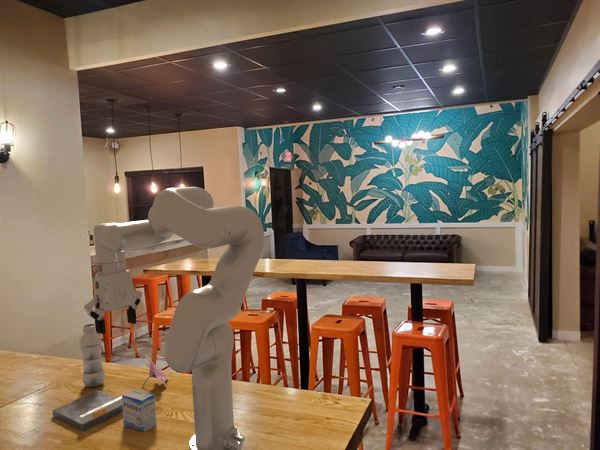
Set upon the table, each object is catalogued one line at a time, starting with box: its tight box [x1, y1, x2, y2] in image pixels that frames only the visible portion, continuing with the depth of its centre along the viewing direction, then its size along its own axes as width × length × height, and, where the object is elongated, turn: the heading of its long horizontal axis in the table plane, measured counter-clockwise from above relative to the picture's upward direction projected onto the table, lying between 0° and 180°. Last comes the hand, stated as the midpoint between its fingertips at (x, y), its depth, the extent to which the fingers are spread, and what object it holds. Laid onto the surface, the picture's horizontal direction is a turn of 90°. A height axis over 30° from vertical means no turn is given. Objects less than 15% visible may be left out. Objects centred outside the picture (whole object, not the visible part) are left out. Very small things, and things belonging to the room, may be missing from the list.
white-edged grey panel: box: [51, 390, 123, 432], centre depth 132 cm, size 15×14×4 cm
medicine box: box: [121, 389, 157, 433], centre depth 125 cm, size 8×4×9 cm, turn 62°
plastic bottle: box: [79, 323, 106, 388], centre depth 150 cm, size 6×7×20 cm
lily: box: [141, 353, 169, 389], centre depth 148 cm, size 12×12×10 cm
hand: (117, 328), depth 130 cm, fingers open, 9 cm apart
